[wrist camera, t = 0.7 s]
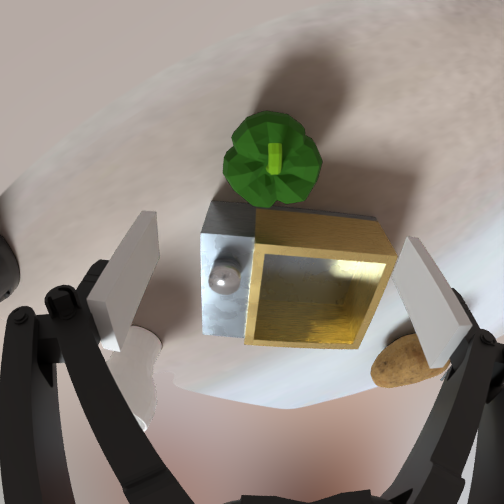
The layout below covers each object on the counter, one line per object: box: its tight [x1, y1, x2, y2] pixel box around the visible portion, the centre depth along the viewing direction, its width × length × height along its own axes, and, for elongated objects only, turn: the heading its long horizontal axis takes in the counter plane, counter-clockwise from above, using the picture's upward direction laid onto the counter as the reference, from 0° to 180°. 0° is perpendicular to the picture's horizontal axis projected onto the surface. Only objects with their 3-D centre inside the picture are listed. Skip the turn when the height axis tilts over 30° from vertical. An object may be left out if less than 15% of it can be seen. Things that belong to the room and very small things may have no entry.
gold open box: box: [201, 201, 398, 349], centre depth 36 cm, size 19×14×9 cm
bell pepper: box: [223, 111, 323, 208], centre depth 27 cm, size 8×8×10 cm
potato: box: [371, 334, 450, 388], centre depth 45 cm, size 10×14×8 cm
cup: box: [106, 326, 162, 432], centre depth 43 cm, size 11×11×15 cm
